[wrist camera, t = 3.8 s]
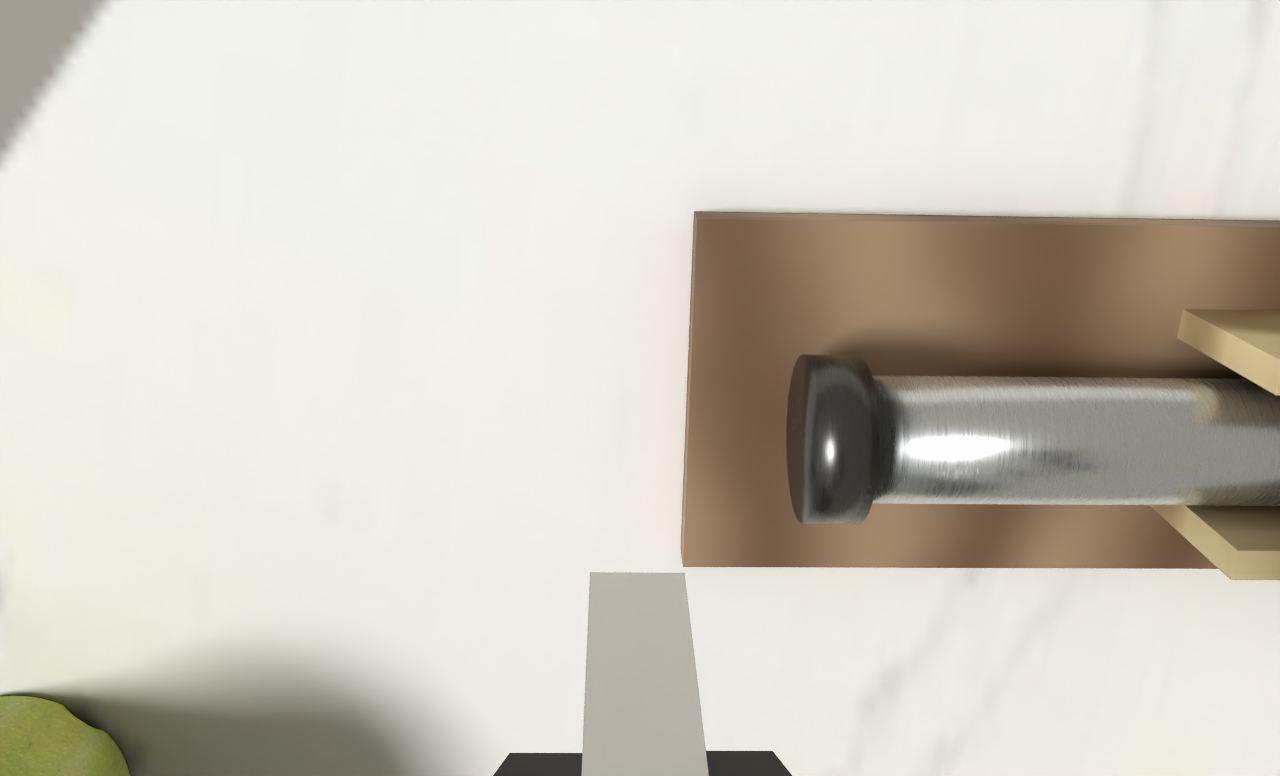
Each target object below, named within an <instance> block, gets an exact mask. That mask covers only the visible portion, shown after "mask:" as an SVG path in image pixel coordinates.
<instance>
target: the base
mask: <svg viewBox="0 0 1280 776" xmlns="http://www.w3.org/2000/svg"><path fill="white" fill-rule="evenodd" d="M803 354H807V355H860V356H862V357H863V358H864V359H865V360H866V362H867V364H868V366H869V368H870V371H871V374H872V375H895V376H993V377H1091V378H1189V379H1249V380H1250V381H1252V382H1254V383H1256V384H1257V385H1259V386H1261V387H1262V388H1264V389H1266V390H1268V391H1269V392H1271V393H1273V394H1275V395H1280V221H1250V220H1187V219H1124V218H1061V217H998V216H935V215H872V214H808V213H745V212H694V225H693V250H692V276H691V301H690V327H689V352H688V377H687V403H686V428H685V453H684V479H683V504H682V530H681V555H682V563H683V567H900V568H1195V569H1220V570H1221V571H1222V572H1223V573H1224V574H1225V575H1226V576H1227V577H1228V578H1229V579H1230V580H1280V506H1206V505H1029V504H872V506H871V509H870V512H869V514H868V516H867V518H866V519H865V521H864V522H863V523H861V524H802V523H800V522H799V521H798V520H797V518H796V515H795V513H794V510H793V506H792V501H791V496H790V490H789V482H788V471H787V453H786V425H787V407H788V396H789V388H790V382H791V377H792V372H793V369H794V366H795V363H796V360H797V359H798V357H799V356H800V355H803Z"/></svg>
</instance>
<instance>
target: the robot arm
mask: <svg viewBox="0 0 1280 776" xmlns="http://www.w3.org/2000/svg"><path fill="white" fill-rule="evenodd" d="M493 776H792V775H791V774H790V772H789V771H788V770H787V769H786V767H785V766H784V765H783V764H782V762H781V761H780V760H779V759H778V757H777V756H776V755H775V754H774V752H773V751H706V748H705V740H704V732H703V723H702V715H701V707H700V699H699V690H698V682H697V674H696V665H695V657H694V649H693V640H692V632H691V624H690V615H689V607H688V599H687V591H686V582H685V574H684V573H599V572H590V587H589V611H588V635H587V658H586V682H585V706H584V729H583V753H509V755H508V756H507V758H506V759H505V760H504V762H503V763H502V764H501V766H500V767H499V769H498V770H497V771H496V773H495V774H494V775H493Z"/></svg>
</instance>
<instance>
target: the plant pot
mask: <svg viewBox="0 0 1280 776" xmlns="http://www.w3.org/2000/svg"><path fill="white" fill-rule="evenodd" d="M0 776H130V774H129V770H128V766H127V764H126V761H125V759H124V757H123V755H122V753H121V751H120V749H119V748H118V747H117V745H116V744H115V742H114V741H113V740H112V738H111V737H110V736H109V735H108V734H107V733H106V732H104V731H102V730H99V729H95V728H93V727H91V726H89V725H87V724H86V723H84V722H82V721H81V720H79V719H78V718H76V717H75V716H73V715H72V714H71V713H70V712H69V711H68V710H67V709H66V708H65V707H64V706H63V705H61V704H59V703H56V702H53V701H49V700H46V699H41V698H36V697H28V696H3V697H0Z"/></svg>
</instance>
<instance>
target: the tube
mask: <svg viewBox="0 0 1280 776" xmlns="http://www.w3.org/2000/svg"><path fill="white" fill-rule="evenodd" d="M786 453H787V471H788V482H789V490H790V496H791V501H792V506H793V510H794V513H795V515H796V518H797V520H798V521H799V522H800V523H802V524H861V523H863V522H864V521H865V519H866V518H867V516H868V514H869V512H870V509H871V506H872V504H1029V505H1206V506H1280V395H1275V394H1273V393H1271V392H1269V391H1268V390H1266V389H1264V388H1262V387H1261V386H1259V385H1257V384H1256V383H1254V382H1252V381H1250V380H1249V379H1189V378H1091V377H993V376H895V375H872V374H871V371H870V368H869V366H868V364H867V362H866V360H865V359H864V358H863V357H862V356H860V355H807V354H803V355H800V356H799V357H798V359H797V360H796V363H795V366H794V369H793V372H792V377H791V382H790V388H789V396H788V407H787V425H786Z"/></svg>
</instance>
